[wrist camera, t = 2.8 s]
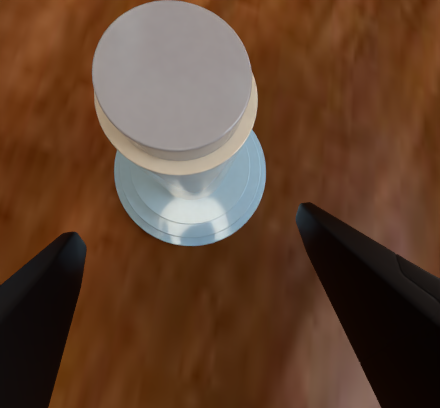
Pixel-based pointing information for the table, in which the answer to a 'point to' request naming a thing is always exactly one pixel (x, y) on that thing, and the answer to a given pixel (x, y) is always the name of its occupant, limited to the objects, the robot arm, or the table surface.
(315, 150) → the table surface
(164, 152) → the sugar shaker
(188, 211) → the light blue stepped disc
